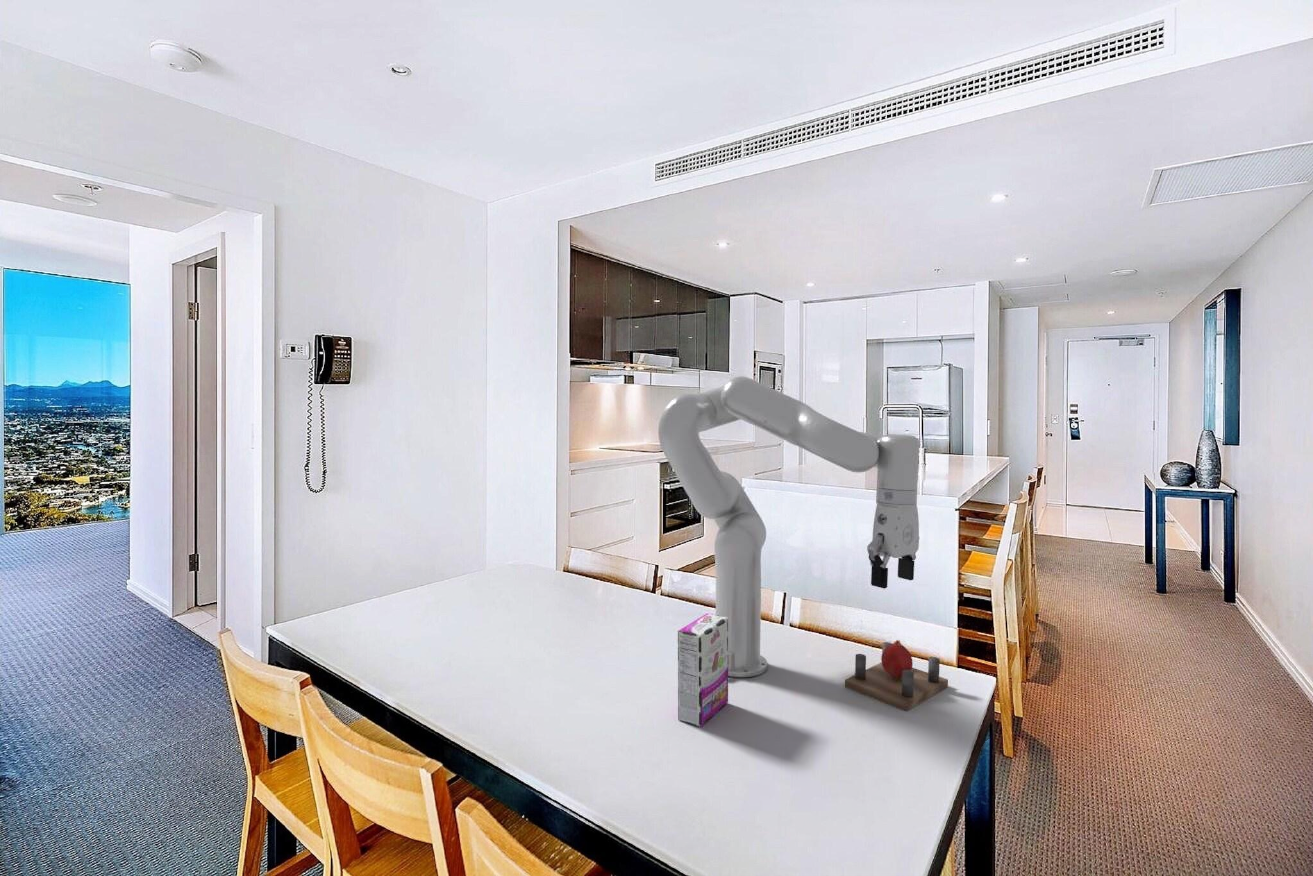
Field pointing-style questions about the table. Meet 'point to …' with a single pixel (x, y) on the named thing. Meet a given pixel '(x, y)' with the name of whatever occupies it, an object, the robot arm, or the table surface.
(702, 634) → the candy bar box
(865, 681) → the peg holder
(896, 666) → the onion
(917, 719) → the table surface
